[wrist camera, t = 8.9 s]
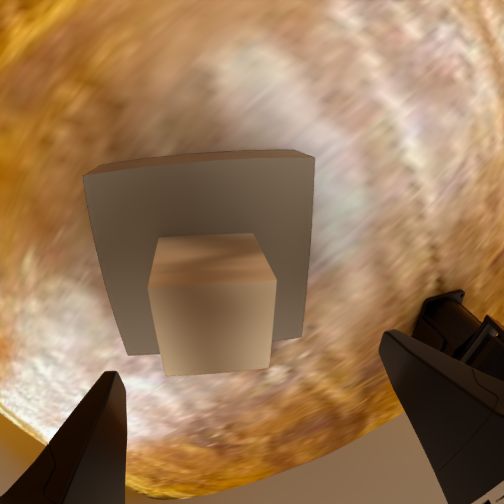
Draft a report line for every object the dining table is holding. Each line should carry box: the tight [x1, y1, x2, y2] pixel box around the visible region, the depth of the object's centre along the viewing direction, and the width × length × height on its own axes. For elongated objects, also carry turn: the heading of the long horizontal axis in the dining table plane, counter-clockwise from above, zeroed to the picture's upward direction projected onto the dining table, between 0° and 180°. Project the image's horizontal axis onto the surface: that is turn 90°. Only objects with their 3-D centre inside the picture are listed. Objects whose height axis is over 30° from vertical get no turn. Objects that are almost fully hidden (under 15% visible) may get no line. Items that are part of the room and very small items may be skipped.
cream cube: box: [148, 233, 277, 376], centre depth 15 cm, size 5×5×5 cm
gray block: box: [83, 150, 315, 356], centre depth 19 cm, size 12×12×4 cm
